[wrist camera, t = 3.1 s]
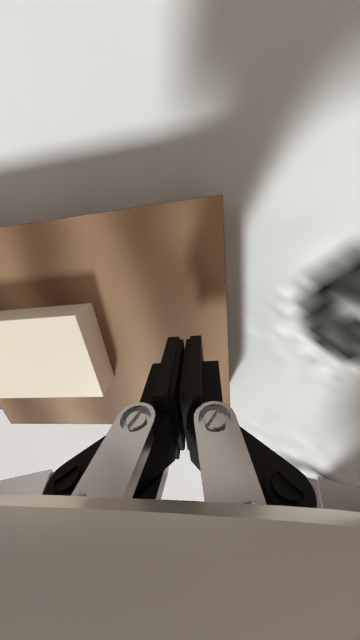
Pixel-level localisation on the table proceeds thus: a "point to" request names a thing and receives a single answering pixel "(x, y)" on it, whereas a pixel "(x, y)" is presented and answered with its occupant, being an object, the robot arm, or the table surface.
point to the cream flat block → (53, 353)
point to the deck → (122, 293)
